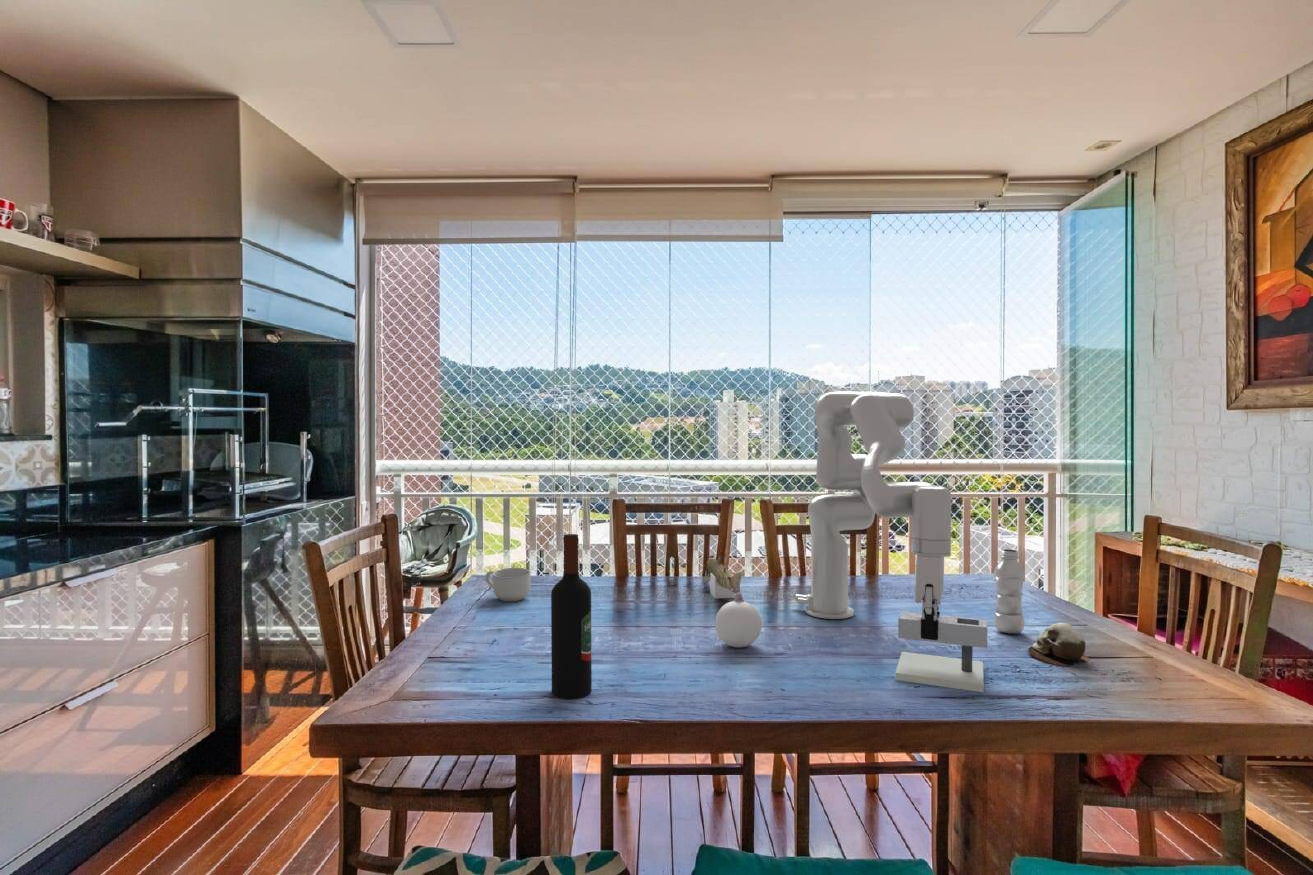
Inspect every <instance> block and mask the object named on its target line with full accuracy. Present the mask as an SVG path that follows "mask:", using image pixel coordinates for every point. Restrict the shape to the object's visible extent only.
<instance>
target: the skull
mask: <svg viewBox="0 0 1313 875" xmlns="http://www.w3.org/2000/svg"><path fill="white" fill-rule="evenodd" d="M1027 651H1028V653H1029V654H1030V656H1032V657H1033V658H1036V659H1038V660H1041V661H1042V662H1045V663H1048V664H1052V665H1058V666H1062V667H1063V666H1064V667H1071V668H1072V667H1073V668H1075V667H1076V664H1081V665H1082V664H1086V663H1087V664H1091V663H1092V660H1091V658H1089V657H1088V656H1087V655H1085V651H1086V641H1085V639H1084V637H1083V636H1082V634H1081V633H1080V632H1079V631H1078V630H1077V629H1076V628H1075V627H1074V626H1072V625H1070V624H1069V623H1065V622H1057V623H1053V624H1051V625H1049V627H1047V628H1046V629H1045V630H1044V631H1043V632H1042V634H1040V635H1038V636H1037V637H1036V642H1034V643H1032V646H1029V648H1028V650H1027Z"/></svg>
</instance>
